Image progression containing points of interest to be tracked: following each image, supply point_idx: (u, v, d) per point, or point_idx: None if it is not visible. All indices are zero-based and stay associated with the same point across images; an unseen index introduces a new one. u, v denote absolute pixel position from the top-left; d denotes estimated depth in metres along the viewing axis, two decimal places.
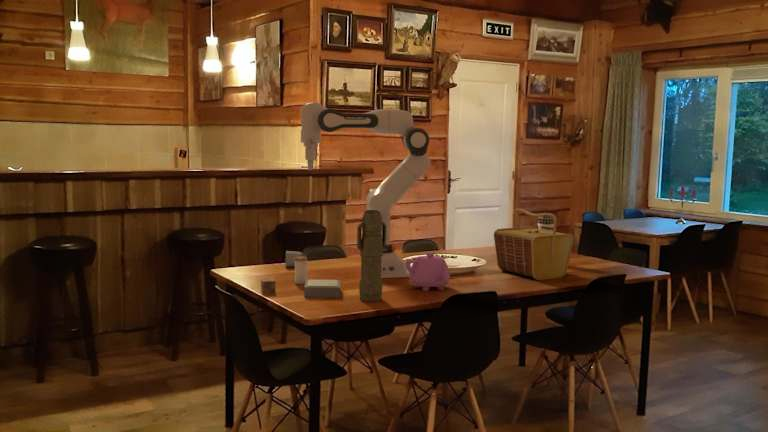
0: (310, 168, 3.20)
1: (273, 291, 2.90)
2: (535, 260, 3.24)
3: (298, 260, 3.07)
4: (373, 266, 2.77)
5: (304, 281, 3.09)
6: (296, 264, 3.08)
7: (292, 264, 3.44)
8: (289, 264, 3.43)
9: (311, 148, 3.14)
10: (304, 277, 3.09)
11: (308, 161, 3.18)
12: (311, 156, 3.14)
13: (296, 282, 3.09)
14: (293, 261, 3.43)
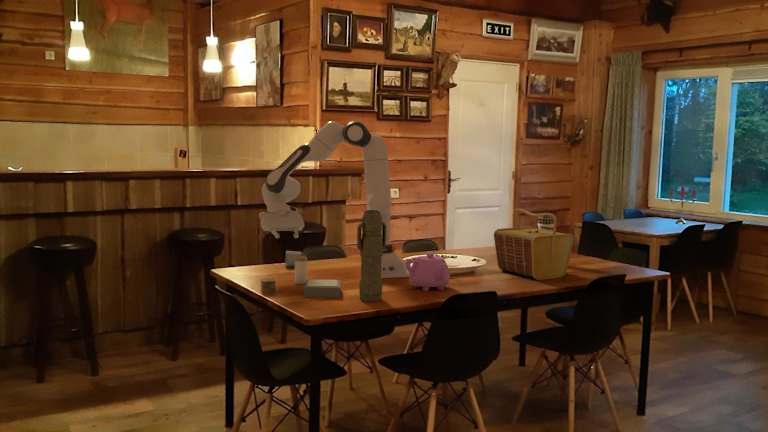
0: (276, 235, 3.16)
1: (273, 291, 2.90)
2: (535, 260, 3.24)
3: (298, 260, 3.07)
4: (373, 266, 2.77)
5: (304, 281, 3.09)
6: (296, 264, 3.08)
7: (292, 264, 3.44)
8: (289, 264, 3.44)
9: (262, 218, 3.18)
10: (304, 277, 3.09)
11: (271, 231, 3.18)
12: (263, 224, 3.16)
13: (296, 282, 3.09)
14: (293, 261, 3.43)
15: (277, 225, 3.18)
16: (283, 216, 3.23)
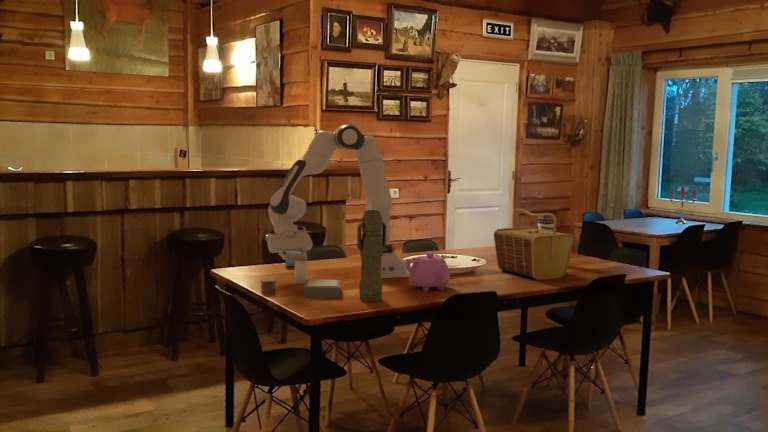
0: (283, 257, 3.11)
1: (273, 291, 2.90)
2: (535, 260, 3.24)
3: (298, 260, 3.07)
4: (373, 266, 2.77)
5: (304, 281, 3.09)
6: (296, 264, 3.08)
7: (292, 264, 3.45)
8: (289, 264, 3.44)
9: (269, 240, 3.13)
10: (304, 277, 3.09)
11: (278, 252, 3.13)
12: (270, 246, 3.11)
13: (296, 282, 3.09)
14: (293, 261, 3.44)
15: (284, 246, 3.13)
16: (290, 236, 3.18)
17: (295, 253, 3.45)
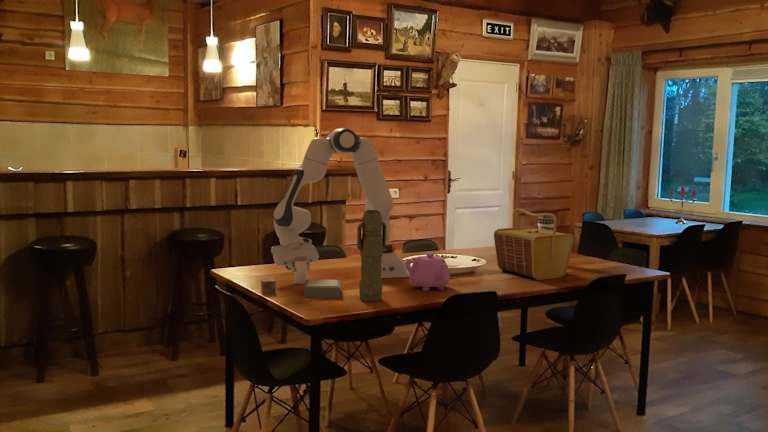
0: (292, 269, 3.08)
1: (273, 291, 2.90)
2: (535, 260, 3.24)
3: (298, 260, 3.07)
4: (373, 266, 2.77)
5: (304, 281, 3.09)
6: (296, 264, 3.08)
7: None
8: None
9: (274, 253, 3.09)
10: (304, 277, 3.09)
11: (287, 265, 3.09)
12: (276, 259, 3.07)
13: (296, 282, 3.09)
14: None
15: (290, 259, 3.09)
16: (296, 249, 3.14)
17: None
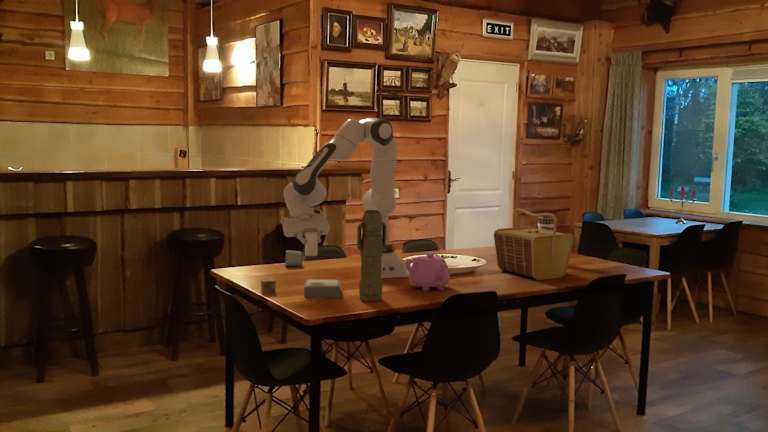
0: (302, 241, 2.96)
1: (273, 291, 2.90)
2: (535, 260, 3.24)
3: (308, 231, 2.96)
4: (373, 266, 2.77)
5: (315, 253, 2.97)
6: (306, 235, 2.97)
7: (292, 263, 3.46)
8: (289, 263, 3.46)
9: (284, 223, 2.97)
10: (315, 249, 2.97)
11: (297, 236, 2.98)
12: (286, 230, 2.95)
13: (306, 254, 2.97)
14: (293, 260, 3.45)
15: (300, 230, 2.98)
16: (307, 220, 3.02)
17: (295, 253, 3.46)
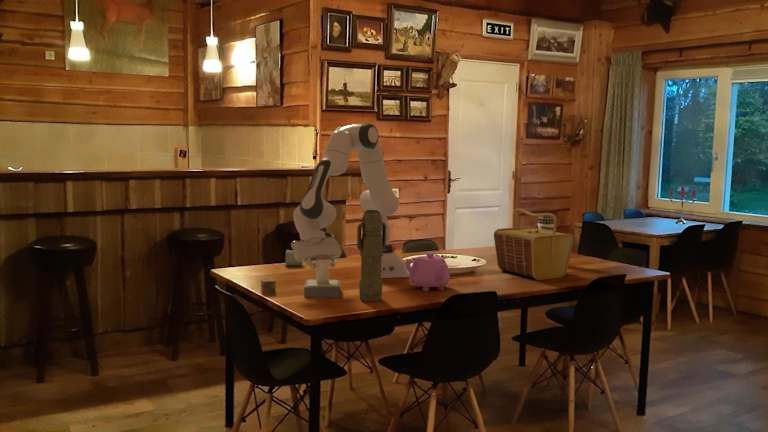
0: (311, 266, 2.87)
1: (273, 291, 2.90)
2: (535, 260, 3.24)
3: (320, 258, 2.87)
4: (373, 266, 2.77)
5: (326, 281, 2.89)
6: (318, 263, 2.88)
7: (292, 263, 3.47)
8: (289, 263, 3.46)
9: (295, 248, 2.89)
10: (326, 276, 2.89)
11: (306, 261, 2.89)
12: (297, 255, 2.87)
13: (318, 282, 2.89)
14: (293, 260, 3.46)
15: (312, 254, 2.89)
16: (318, 244, 2.94)
17: None
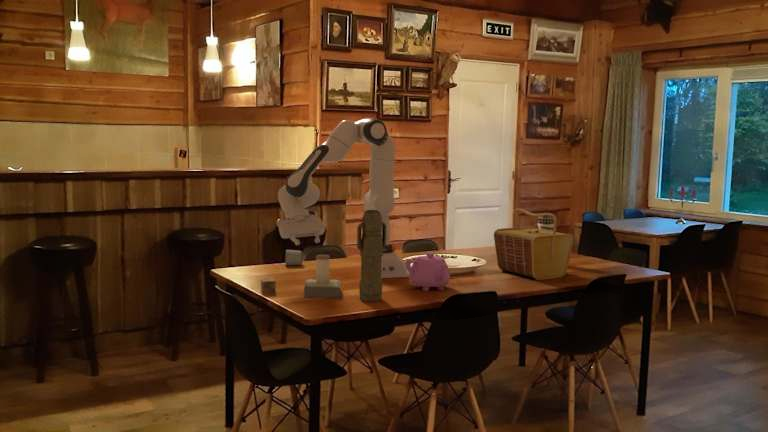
0: (296, 242, 3.01)
1: (273, 291, 2.90)
2: (535, 260, 3.24)
3: (320, 258, 2.87)
4: (373, 266, 2.77)
5: (326, 281, 2.89)
6: (318, 263, 2.88)
7: (292, 263, 3.47)
8: (289, 263, 3.47)
9: (280, 225, 3.03)
10: (326, 276, 2.89)
11: (290, 238, 3.03)
12: (282, 232, 3.01)
13: (318, 282, 2.89)
14: (293, 260, 3.47)
15: (296, 231, 3.03)
16: (302, 221, 3.08)
17: (295, 252, 3.48)
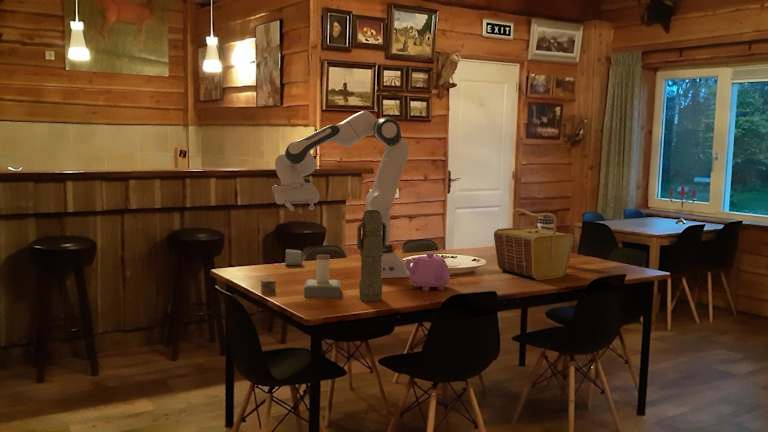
0: (290, 208, 3.08)
1: (273, 291, 2.90)
2: (535, 260, 3.24)
3: (320, 258, 2.87)
4: (373, 266, 2.77)
5: (326, 281, 2.89)
6: (318, 263, 2.88)
7: (292, 262, 3.48)
8: (289, 262, 3.48)
9: (275, 191, 3.10)
10: (326, 276, 2.89)
11: (285, 203, 3.09)
12: (277, 197, 3.08)
13: (318, 282, 2.89)
14: (293, 259, 3.47)
15: (291, 197, 3.10)
16: (297, 188, 3.15)
17: (295, 252, 3.49)
